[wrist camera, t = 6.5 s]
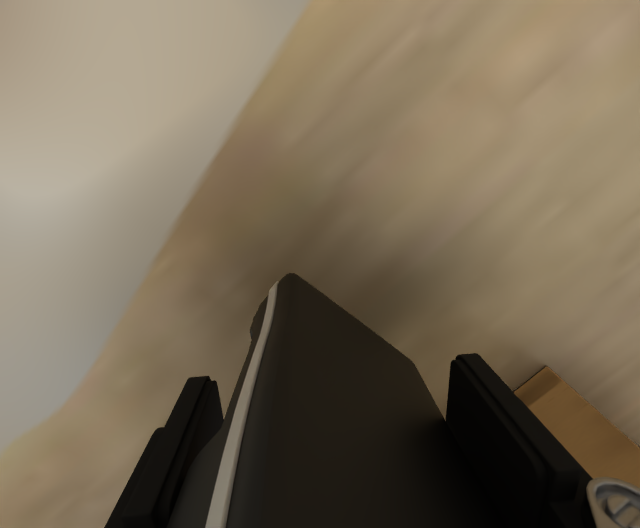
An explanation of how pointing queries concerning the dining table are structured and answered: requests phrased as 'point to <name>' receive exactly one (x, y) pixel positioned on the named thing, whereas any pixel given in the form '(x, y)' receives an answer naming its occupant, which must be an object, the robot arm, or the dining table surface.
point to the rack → (581, 428)
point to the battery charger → (329, 433)
